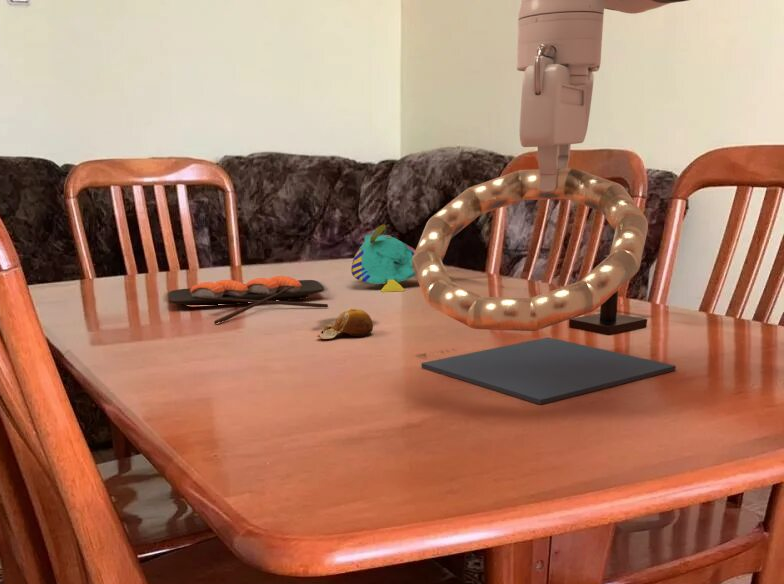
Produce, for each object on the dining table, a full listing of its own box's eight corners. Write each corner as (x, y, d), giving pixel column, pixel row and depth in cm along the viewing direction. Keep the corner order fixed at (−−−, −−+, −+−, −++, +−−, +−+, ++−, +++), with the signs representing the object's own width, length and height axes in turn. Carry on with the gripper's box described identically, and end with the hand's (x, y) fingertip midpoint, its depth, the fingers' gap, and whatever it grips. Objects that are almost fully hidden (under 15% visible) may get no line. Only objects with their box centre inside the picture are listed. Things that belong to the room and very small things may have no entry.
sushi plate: (316, 288, 168) (315, 269, 166) (342, 314, 141) (340, 291, 139) (170, 299, 162) (167, 279, 161) (168, 328, 136) (164, 304, 134)
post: (605, 319, 128) (611, 250, 124) (646, 327, 122) (653, 255, 118) (568, 327, 125) (572, 256, 120) (608, 335, 119) (614, 261, 114)
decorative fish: (346, 209, 167) (419, 204, 168) (349, 262, 177) (419, 258, 178) (352, 266, 156) (431, 261, 156) (355, 320, 165) (429, 315, 166)
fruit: (322, 329, 130) (320, 305, 128) (375, 328, 129) (374, 304, 128) (316, 341, 122) (314, 316, 121) (371, 339, 122) (370, 314, 120)
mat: (547, 341, 116) (548, 337, 116) (675, 370, 100) (676, 365, 99) (421, 367, 106) (421, 362, 106) (540, 405, 89) (540, 399, 89)
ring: (449, 190, 100) (444, 167, 98) (658, 185, 92) (659, 158, 89) (391, 332, 88) (385, 309, 86) (626, 341, 80) (626, 316, 77)
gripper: (571, 39, 78) (563, 196, 84) (603, 54, 95) (594, 184, 101) (506, 44, 80) (502, 197, 86) (548, 58, 98) (543, 185, 103)
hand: (552, 190), depth 94 cm, fingers closed on ring, 3 cm apart
